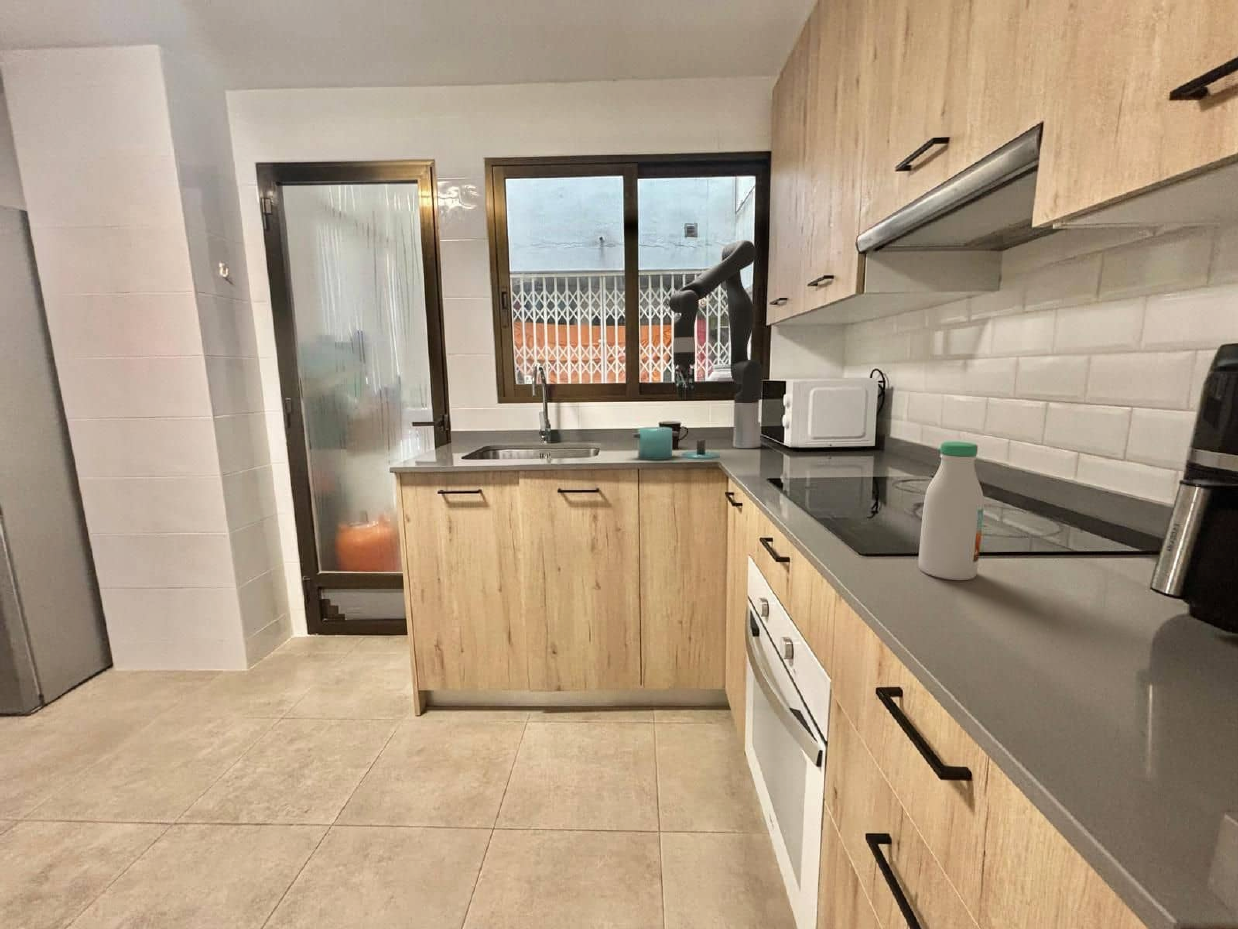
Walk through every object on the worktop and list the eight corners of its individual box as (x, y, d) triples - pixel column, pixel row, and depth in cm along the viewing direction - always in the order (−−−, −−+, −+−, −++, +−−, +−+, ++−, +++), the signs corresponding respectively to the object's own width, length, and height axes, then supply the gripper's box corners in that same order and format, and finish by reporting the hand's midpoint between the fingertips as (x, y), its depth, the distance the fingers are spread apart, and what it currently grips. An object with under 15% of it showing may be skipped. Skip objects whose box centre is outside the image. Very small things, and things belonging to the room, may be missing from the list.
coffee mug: (654, 447, 211) (654, 422, 209) (672, 445, 215) (672, 420, 213) (670, 451, 201) (671, 424, 199) (689, 449, 205) (690, 423, 203)
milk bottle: (963, 586, 77) (977, 449, 73) (908, 570, 83) (919, 443, 80) (985, 573, 81) (1000, 443, 78) (931, 559, 88) (943, 438, 84)
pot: (671, 453, 196) (671, 426, 195) (682, 458, 185) (683, 429, 183) (628, 455, 193) (628, 427, 191) (637, 461, 181) (636, 431, 180)
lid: (710, 452, 197) (710, 436, 196) (725, 458, 185) (726, 441, 184) (677, 454, 194) (677, 438, 193) (690, 461, 182) (690, 443, 181)
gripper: (701, 350, 179) (701, 399, 182) (687, 351, 193) (688, 396, 196) (680, 350, 178) (680, 399, 181) (667, 351, 191) (668, 397, 195)
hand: (684, 398), depth 188 cm, fingers open, 8 cm apart
